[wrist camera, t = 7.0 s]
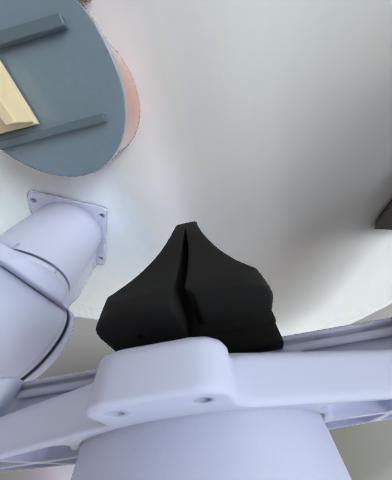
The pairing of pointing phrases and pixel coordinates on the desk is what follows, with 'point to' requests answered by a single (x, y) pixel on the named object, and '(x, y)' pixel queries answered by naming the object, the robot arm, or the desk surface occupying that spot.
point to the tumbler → (66, 87)
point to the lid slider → (13, 106)
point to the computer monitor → (385, 219)
